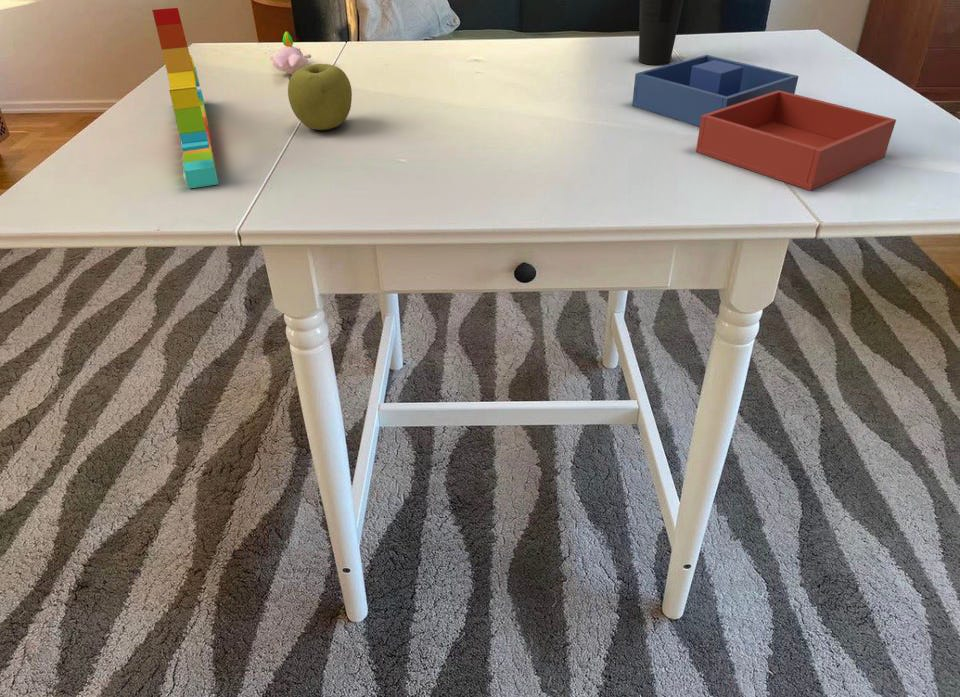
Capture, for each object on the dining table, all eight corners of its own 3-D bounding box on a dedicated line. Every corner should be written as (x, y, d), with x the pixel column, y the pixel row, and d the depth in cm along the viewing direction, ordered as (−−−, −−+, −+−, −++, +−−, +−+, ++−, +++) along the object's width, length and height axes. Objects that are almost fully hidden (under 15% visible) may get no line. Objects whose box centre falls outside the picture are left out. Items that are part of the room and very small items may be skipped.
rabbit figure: (275, 71, 117) (266, 80, 104) (268, 31, 114) (259, 35, 101) (314, 68, 118) (311, 77, 104) (308, 28, 115) (304, 32, 102)
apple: (288, 138, 87) (277, 77, 83) (301, 117, 93) (292, 59, 89) (350, 138, 87) (343, 76, 83) (360, 116, 93) (353, 58, 89)
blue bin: (791, 108, 93) (799, 75, 90) (721, 133, 86) (727, 98, 83) (701, 85, 102) (706, 54, 99) (631, 105, 95) (635, 73, 92)
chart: (179, 106, 98) (148, -16, 90) (204, 103, 99) (175, -18, 91) (186, 189, 75) (144, 35, 66) (218, 184, 76) (181, 32, 67)
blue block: (737, 103, 93) (744, 66, 90) (715, 110, 91) (721, 73, 88) (708, 95, 96) (714, 59, 93) (686, 102, 94) (691, 65, 91)
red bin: (884, 157, 79) (896, 119, 76) (810, 191, 72) (821, 151, 69) (771, 124, 88) (778, 89, 86) (695, 151, 81) (701, 115, 79)
